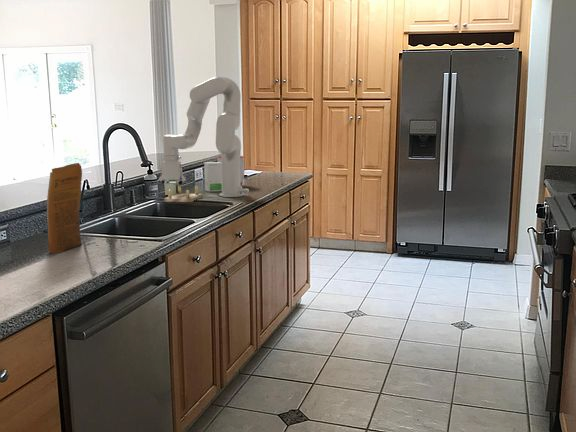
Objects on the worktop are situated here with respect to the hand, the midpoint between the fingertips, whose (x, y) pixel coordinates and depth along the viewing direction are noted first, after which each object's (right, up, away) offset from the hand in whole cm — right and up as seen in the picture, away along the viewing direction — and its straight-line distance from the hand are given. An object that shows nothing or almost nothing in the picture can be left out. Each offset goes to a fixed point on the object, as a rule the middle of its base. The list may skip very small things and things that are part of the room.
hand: (172, 192), depth 327 cm
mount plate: (+8, -4, -16) cm, 19 cm away
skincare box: (+20, +1, +12) cm, 23 cm away
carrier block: (0, -1, 0) cm, 1 cm away
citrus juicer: (+28, +5, +31) cm, 42 cm away
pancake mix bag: (-13, -23, -118) cm, 121 cm away
